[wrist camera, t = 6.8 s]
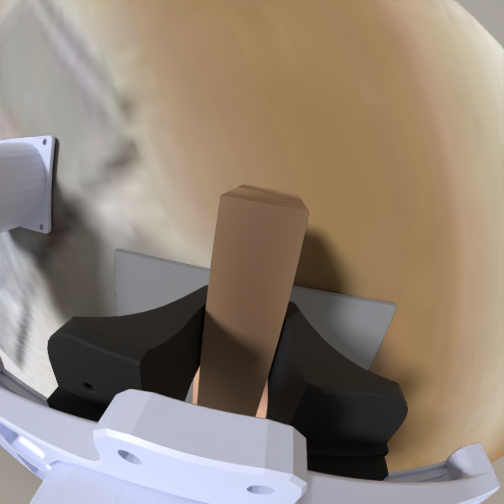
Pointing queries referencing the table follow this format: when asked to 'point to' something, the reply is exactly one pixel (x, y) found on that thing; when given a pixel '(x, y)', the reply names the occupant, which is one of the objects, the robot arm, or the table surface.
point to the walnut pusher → (248, 294)
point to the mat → (307, 300)
